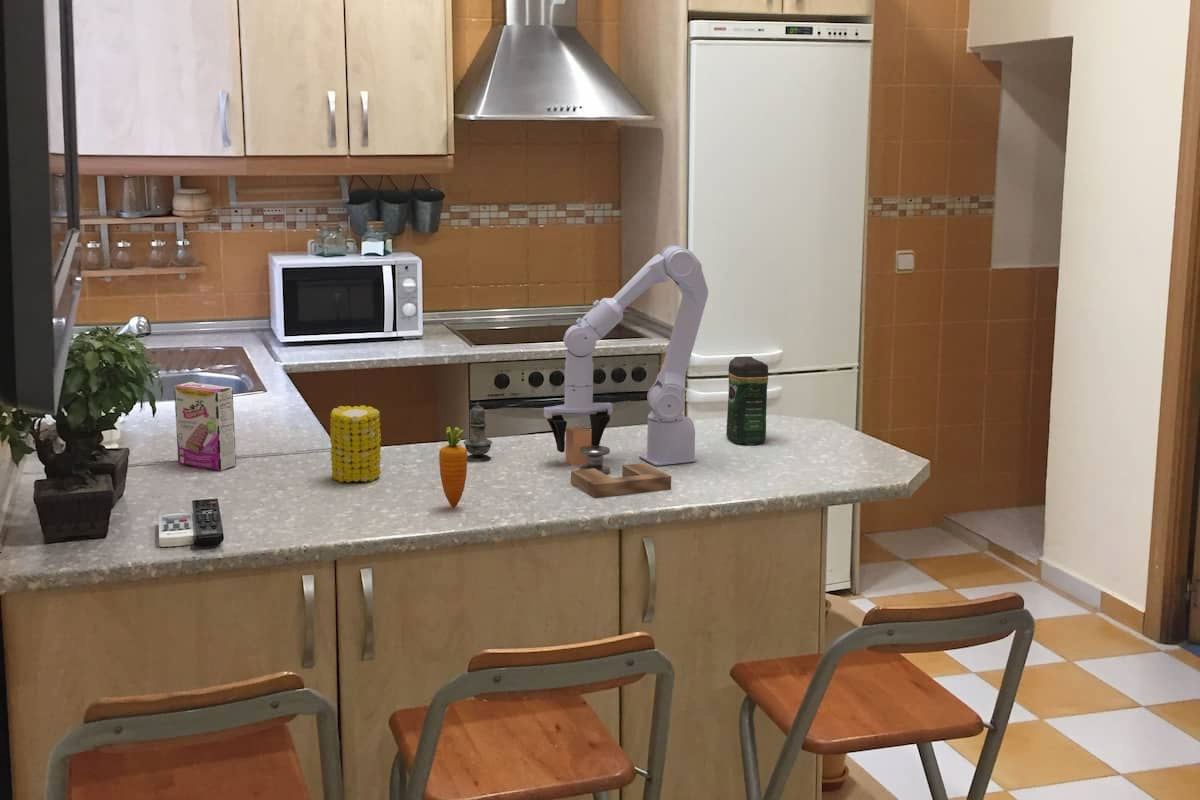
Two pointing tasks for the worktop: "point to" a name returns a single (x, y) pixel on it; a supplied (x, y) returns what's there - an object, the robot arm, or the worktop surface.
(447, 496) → the carrot
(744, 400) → the coffee jar
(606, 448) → the doorknob
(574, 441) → the brown block
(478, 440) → the salt shaker
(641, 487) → the notched board
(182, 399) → the candy bar box
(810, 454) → the worktop surface
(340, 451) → the food
